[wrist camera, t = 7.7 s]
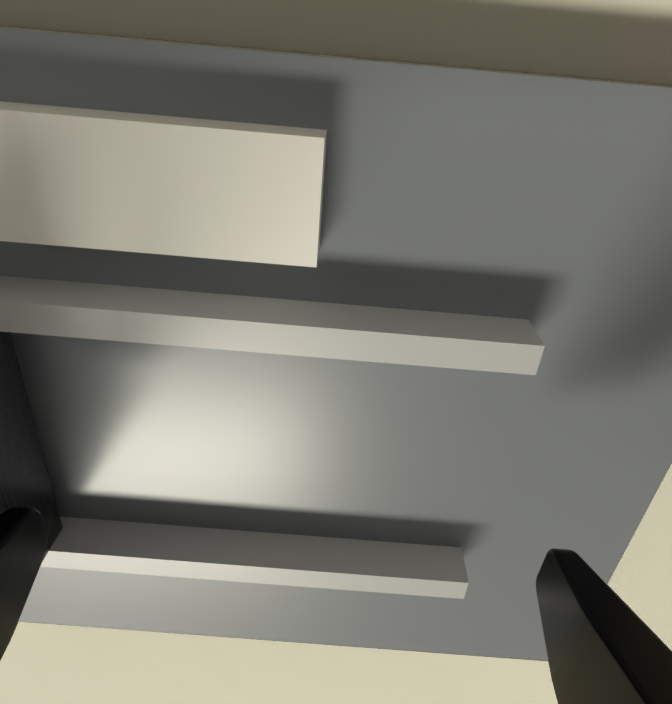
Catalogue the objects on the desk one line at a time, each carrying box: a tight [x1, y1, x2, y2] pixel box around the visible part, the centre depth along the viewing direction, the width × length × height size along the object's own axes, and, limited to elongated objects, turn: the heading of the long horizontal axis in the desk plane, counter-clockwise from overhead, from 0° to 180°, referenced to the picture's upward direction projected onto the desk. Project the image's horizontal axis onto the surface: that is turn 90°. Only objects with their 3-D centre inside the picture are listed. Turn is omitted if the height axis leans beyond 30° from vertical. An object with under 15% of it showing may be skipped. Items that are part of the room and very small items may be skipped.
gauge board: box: [0, 26, 672, 661], centre depth 10 cm, size 24×15×5 cm, turn 86°
